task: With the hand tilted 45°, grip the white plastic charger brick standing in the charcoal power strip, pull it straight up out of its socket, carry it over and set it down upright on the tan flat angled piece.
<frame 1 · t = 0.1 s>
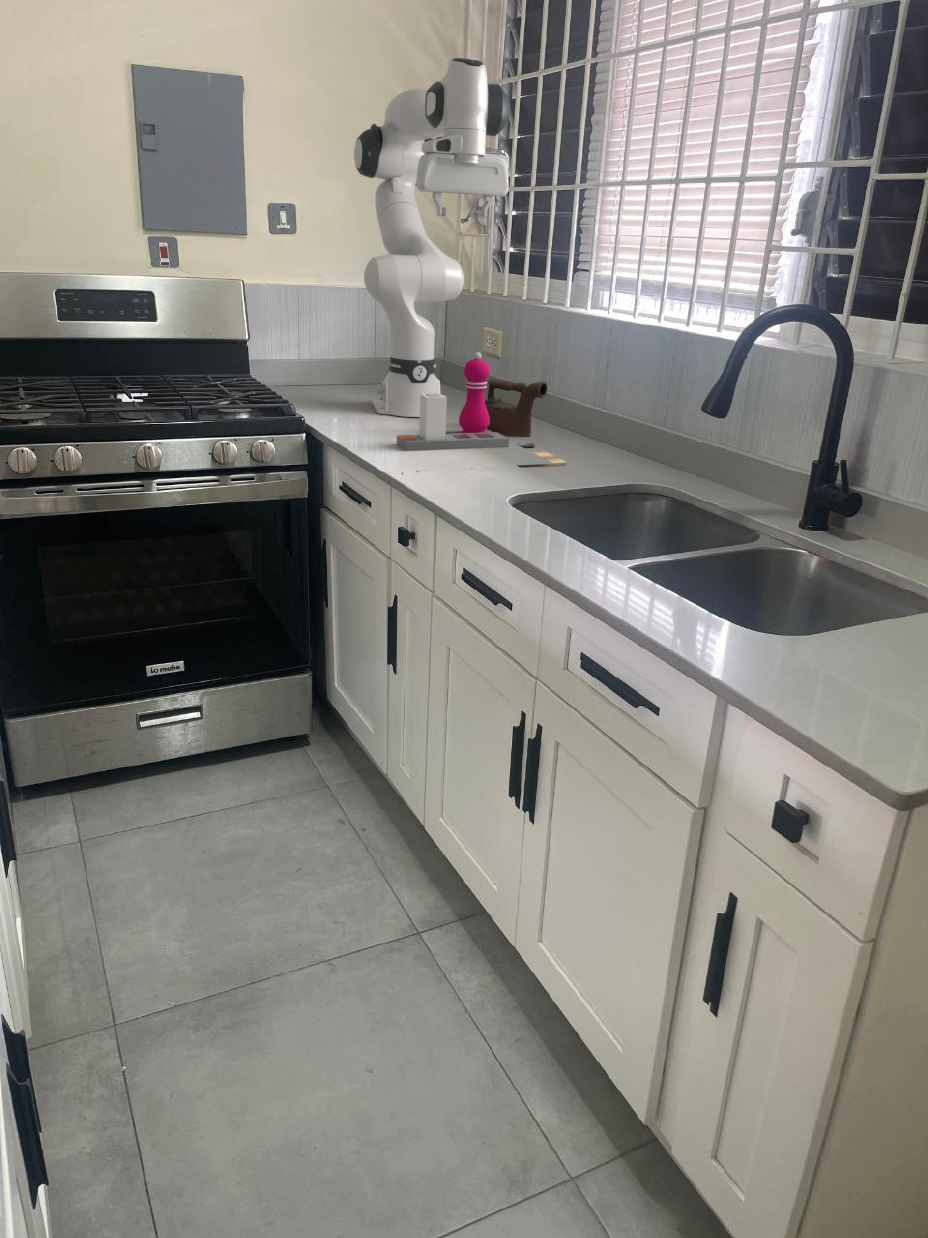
hand: (461, 217, 203), 48 cm above the worktop, tool pointing down, fingers open, 8 cm apart
pepper mill: (473, 440, 220), on the worktop
power strip: (452, 450, 208), on the worktop
tan flat angled piece: (532, 460, 203), on the worktop
clothes iron: (509, 433, 229), on the worktop
charger: (431, 445, 206), point 1 cm above the worktop, touching power strip
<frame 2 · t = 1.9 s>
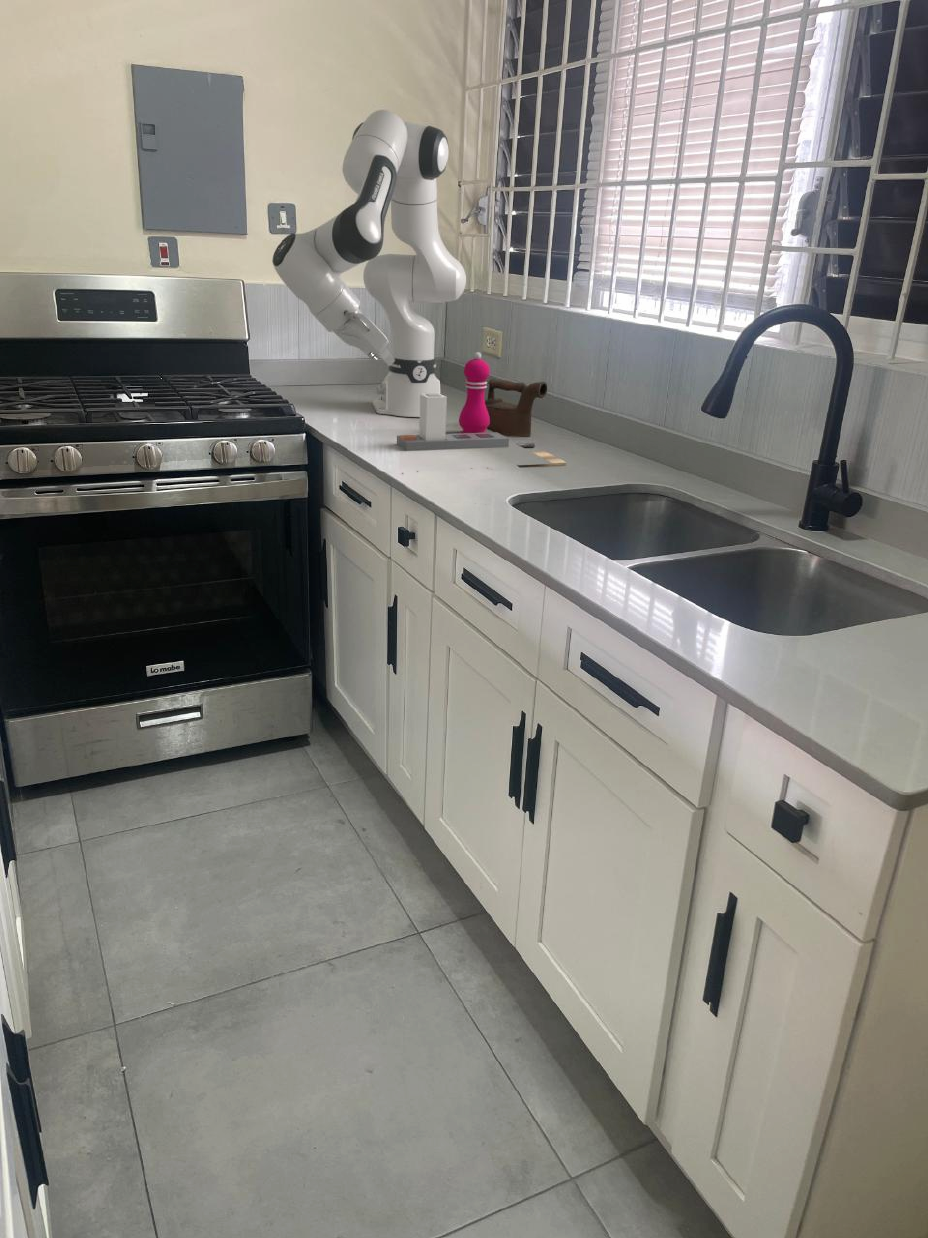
hand: (383, 360, 194), 20 cm above the worktop, tool tilted 45°, fingers open, 8 cm apart
nothing on the worktop moved.
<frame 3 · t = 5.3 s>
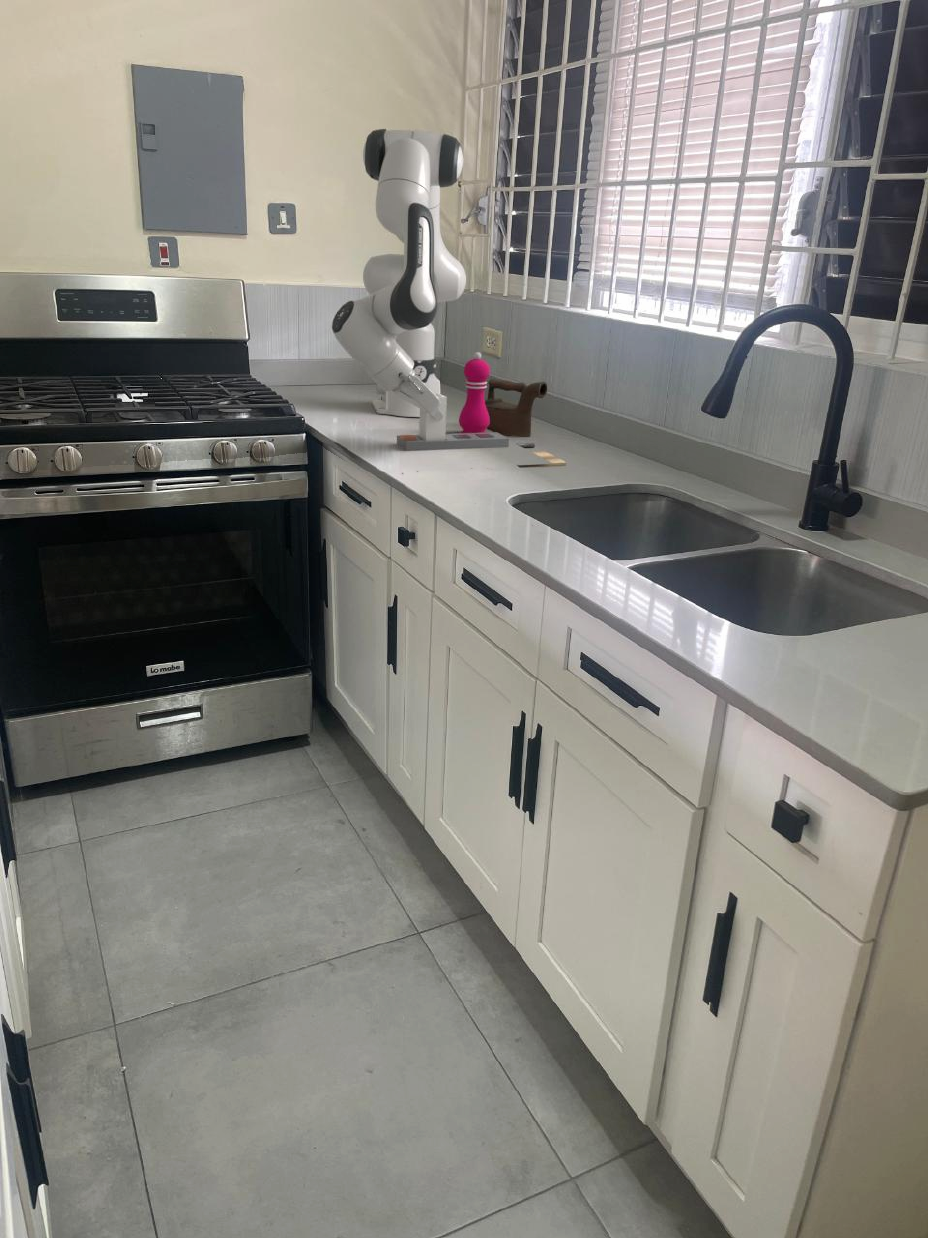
hand: (435, 415, 204), 8 cm above the worktop, tool tilted 45°, fingers closed on charger, 4 cm apart
charger: (431, 445, 206), point 1 cm above the worktop, touching gripper, power strip
everything else where it was.
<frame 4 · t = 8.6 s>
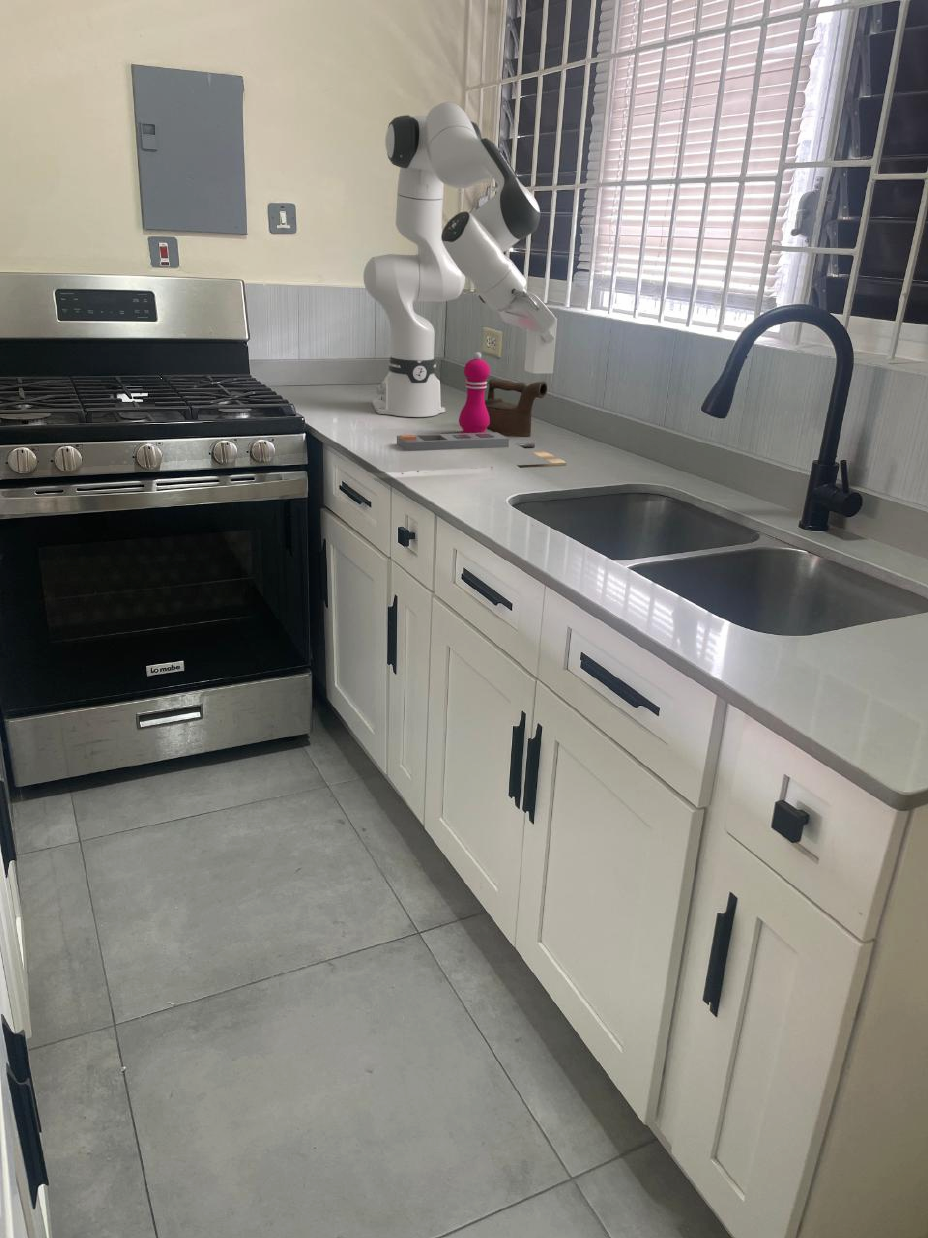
hand: (543, 339, 193), 25 cm above the worktop, tool tilted 45°, fingers closed on charger, 4 cm apart
charger: (538, 371, 196), point 19 cm above the worktop, touching gripper
everything else where it was.
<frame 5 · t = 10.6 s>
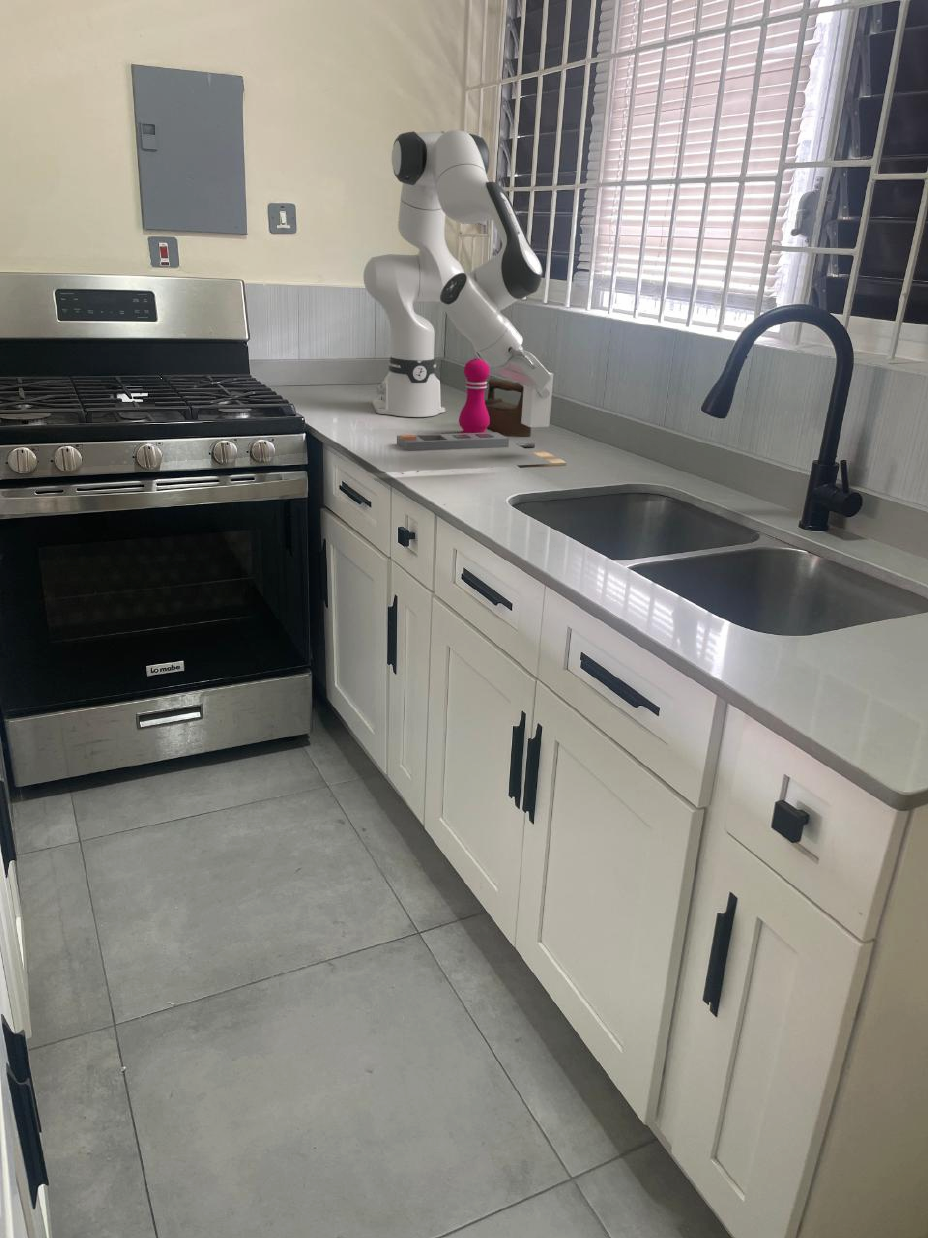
hand: (540, 393, 198), 14 cm above the worktop, tool tilted 45°, fingers closed on charger, 4 cm apart
charger: (535, 424, 200), point 8 cm above the worktop, touching gripper
everything else where it was.
when the fingers open (9 cm above the worktop, at t = 12.1 s): charger drops 1 cm, resting on tan flat angled piece.
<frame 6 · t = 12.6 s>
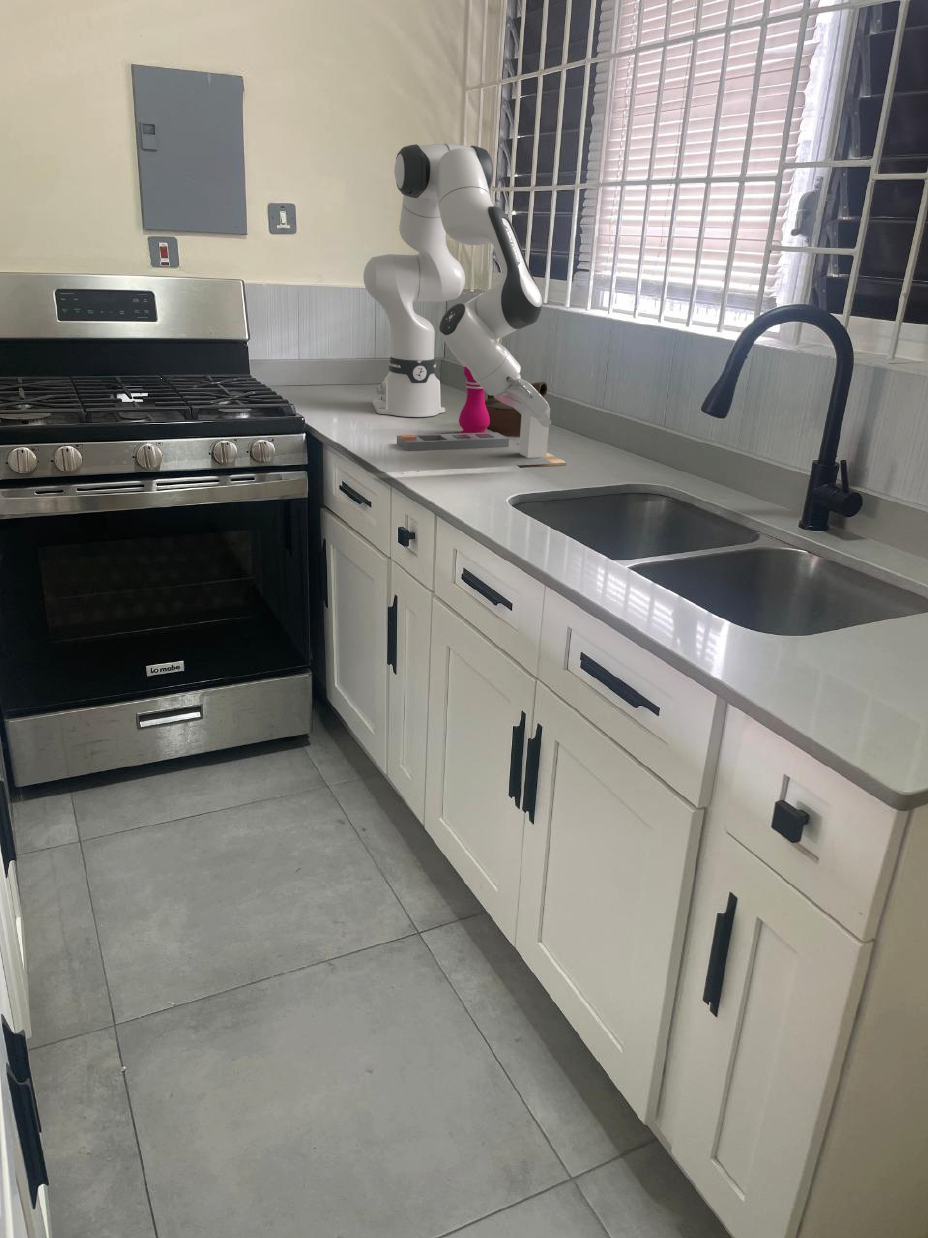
hand: (538, 420, 200), 9 cm above the worktop, tool tilted 45°, fingers open, 8 cm apart
charger: (532, 457, 203), point 1 cm above the worktop, touching tan flat angled piece
everything else where it was.
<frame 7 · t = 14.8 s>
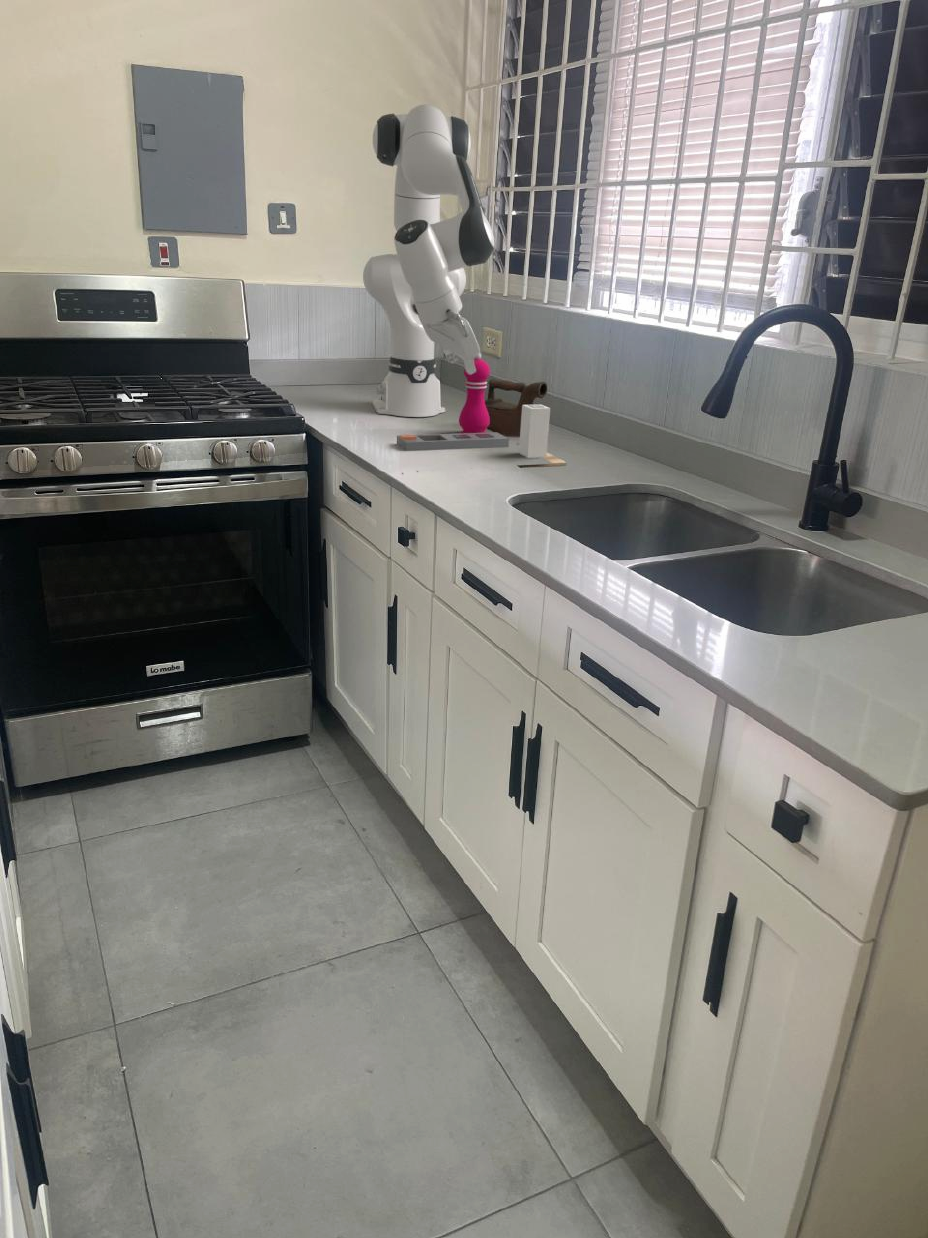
hand: (462, 366, 196), 19 cm above the worktop, tool tilted 25°, fingers open, 8 cm apart
nothing on the worktop moved.
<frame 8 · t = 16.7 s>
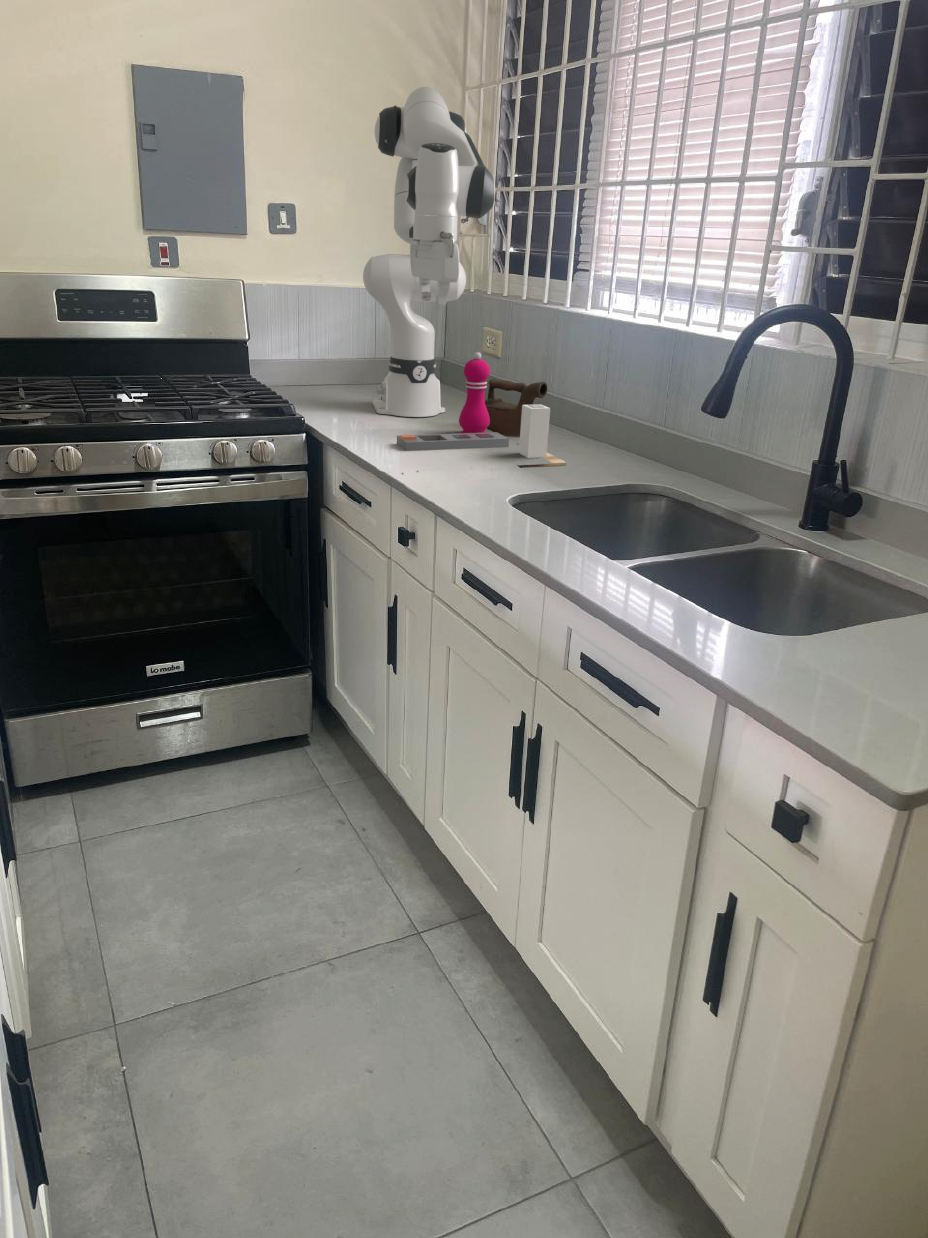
hand: (433, 302, 196), 31 cm above the worktop, tool pointing down, fingers open, 8 cm apart
nothing on the worktop moved.
at the end: charger inside the target area on the tan flat angled piece (0.1 cm from its centre), point 0.6 cm above the tan flat angled piece's base; charger tilted 0°; the gripper is holding nothing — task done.
